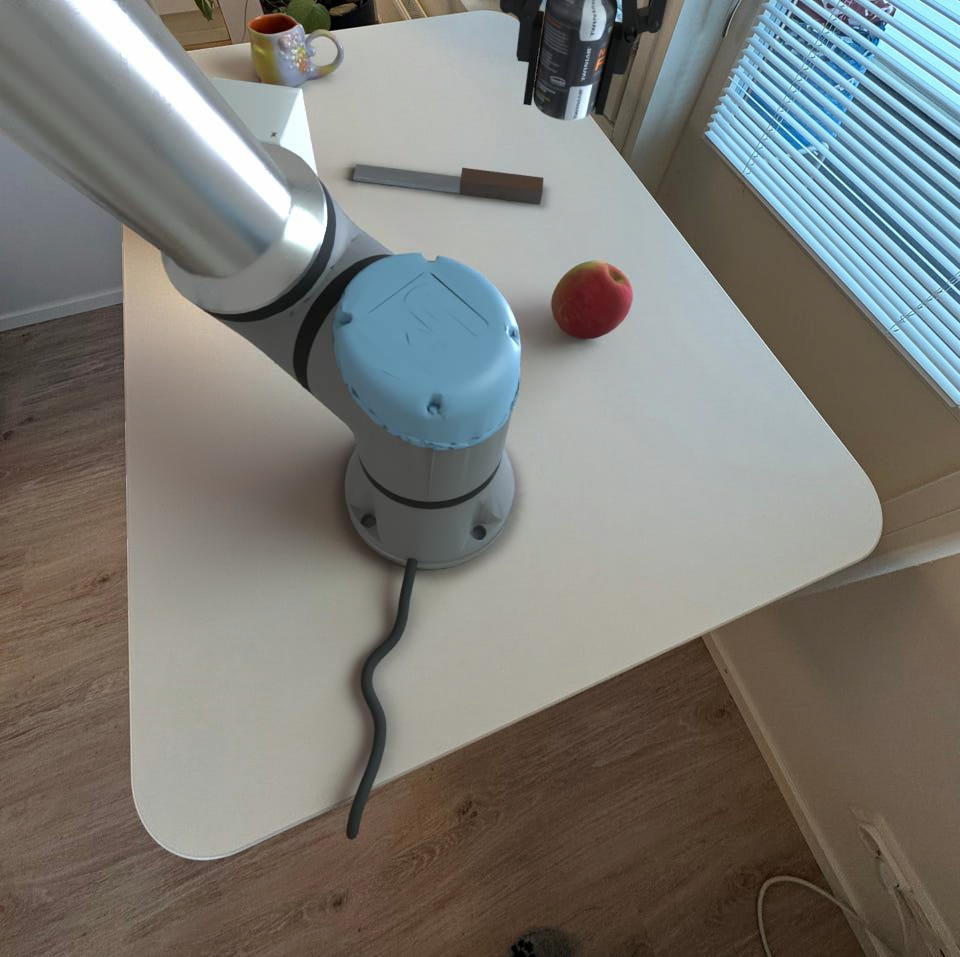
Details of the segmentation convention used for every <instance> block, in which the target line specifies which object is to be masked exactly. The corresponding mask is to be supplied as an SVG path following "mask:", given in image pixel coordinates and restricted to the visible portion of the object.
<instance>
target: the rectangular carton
mask: <svg viewBox="0 0 960 957" xmlns="http://www.w3.org/2000/svg"><path fill="white" fill-rule="evenodd" d="M209 81H210V82H211V83H212V84H213V85H214V87H215V88H216V89H217V90H218V92H219V93H220V94H221V95H222V97H223V98H224V99H225V100H226V102H227V103H228V104H229V105H230V106H231V108H232V109H233V110H234V111H235V113H236V114H237V115H238V116H239V118H240V119H241V120H242V121H243V123H244V124H245V125H246V126H247V127H248V129H249V130H250V131H251V132H252V134H253V135H254V136H255V137H256V139H257V140H258V141H259V142H261V143H270V144H275V145H278V146H281V147H284V148H286V149H288V150H290V151H292V152H294V153H295V154H297V155H299V156H300V157H301V158H302V159H303V160H304V161H305V162H306V163H307V164H308V165H309V166H310V167H311V168H312V170H313V171H314V172H315V174H316V175H317V176H318V170H317V166H316V161H315V155H314V150H313V144H312V140H311V133H310V127H309V121H308V117H307V116H308V115H307V110H306V106H305V101H304V94H303V89H302V88H301V87H296V86H295V87H287V86H279V85H270V84H262V83H261V82H253V81H244V80H237V79H230V78H223V77H215V76H212V77H211V79H210V80H209Z"/></svg>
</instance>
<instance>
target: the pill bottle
mask: <svg viewBox="0 0 960 957" xmlns="http://www.w3.org/2000/svg"><path fill="white" fill-rule="evenodd" d="M618 7H619V6H618V0H545V7H544V18H543V26H542V33H541V40H540V47H539V54H538V61H537V69H536V76H535V83H534V90H533V97H532V100H533V103H534V105H535V107H536V108H537V109H538V110H539V111H540V112H541V113H542V114H544V115H545V116H547V117H549V118H552V119H554V120H558V121H562V122H563V121H564V122H572V121H579V120H581V119H582V120H583V119H584V118H587V117H588V116H590V115H591V114H592V113H593V112H594V111H595V106H596V102H597V97H598V93H599V89H600V85H601V80H602V75H603V72H604V67H605V63H606V58H607V54H608V50H609V45H610V40H611V36H612V32H613V28H614V24H615V21H616V18H617V14H618Z"/></svg>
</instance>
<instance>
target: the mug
mask: <svg viewBox="0 0 960 957" xmlns="http://www.w3.org/2000/svg"><path fill="white" fill-rule="evenodd" d="M246 29H247V33H248V34H249V39H250V57H251V62H252V66H253V68H254V71H255V73H256V75H257V77H258V78H259V79H260V80H261V82H260V83H262V84H270V85H279V86H287V87H295V88H296V87H298V86H300V85H302V84H303V83H304V82H306V81H307V80H311V79H315V78H320V77H325V76H328V75H330V74H331V73H333V72H335V71H336V70H337V69H339V67H340V66H341V65H342V64H343V61H344V58H345V51H344V46H343V42H342V41H340V39H339V38H338V37H337V36H336V34H334V32H331V31H329V30H327V29H323V28H322V29H321V28H319V29H316V30H314V31H312V32H311V33H310V34H308V36H306V32H305V29H304V27H303V25H302V24H301V23H299V22H297V20H296V19H295V18H293V17H292V16H291V15H288V14H285V13H282V12H275V13H269V14H261V15H258V16H256V17H253V18H252V19H250V20H249V21H248V22H247V23H246ZM320 37H323V38H327V39H329V40H331V41H332V42H333V44H334V45H335V47H336V49H337V50H336V51H337V52H336V56H335V58H334V59H333V61H332V62H330V63H328V64H325V65H324V64H323V65H316V64H314V63H313V61H312V60H311V57H315V56H316V55H317V49H316V48H315V46H313V45H311V43H312V42H313V40H315V39H316V38H320Z"/></svg>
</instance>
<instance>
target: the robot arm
mask: <svg viewBox="0 0 960 957" xmlns="http://www.w3.org/2000/svg"><path fill="white" fill-rule="evenodd" d="M543 1H544V0H499V8H500V11H501V12H502V13H504V14H511V15H514V16H515V17H516V18H517V19H518V22H519V23H518V24H519V28H518V36H517V45H516V54H515V56H516V60H517V62H521V63H527V64H528V65H527V72H526V80H525V87H524V97H523V104H522V105H523V106H524V105H526V106H532V104H533V93H534V83H535V77H536V69H537V63H538V56H539V49H540V42H541V36H542V28H543V21H544V14H545V10H544V11H543V10H540V8H541V6H542V4H543ZM668 1H669V0H648V1H647V5H646V6H643V7H639V1H638V0H621V20H622V21H616V20H615V24H614V28H613V32H612V36H611V40H610V45H609V50H608V54H607V58H606V63H605V67H604V72H603V75H602V80H601V85H600V89H599V93H598V97H597V102H596V106H595V109H594V115H597V116H598V115H599V116H604V113H605V108H606V104H607V101H608V96H609V92H610V88H611V84H612V79H613V76H614V75H619V76H624V75H625V73H626V71H627V70H628V66H629V62H630V59H631V56H632V52H633V48H634V44H635V42H636V41H637V40H638V36H639V35H641V34H642V33H647V32H648V33H649V34H656V33H658V32H659V31H660V30H661V29H662V26H663V21H664V17H665V13H666V8H667V4H668ZM210 81H211V80H210V79H209V78H208V76H207V75H206V74H205V73H204V72H203V71H202V69H201V68H200V66H199V65H198V64H197V63H196V62H195V61H194V60H193V58H192V57H191V55H189V53H188V52H187V51H186V50H185V48H184V47H183V46H182V44H180V42H179V41H178V39H177V38H176V37H175V36H174V34H172V31H170V30H169V29H168V27H167V26H166V25H165V23H163V21H162V20H161V18H159V16H158V14H156V12H155V11H154V10H153V9H152V8H151V7H150V5H149V4H148V3H147V1H146V0H0V136H2V137H3V138H4V139H6V140H7V141H9V142H10V143H11V144H13V145H14V146H16V147H17V149H20V150H21V151H22V152H24V154H26V155H28V156H29V157H30V158H32V159H33V160H34V161H36V162H38V163H39V164H40V165H42V166H43V167H44V168H46V169H47V170H48V171H50V172H51V173H53V174H54V175H56V177H58V178H59V179H61V180H62V181H64V182H65V183H67V184H68V185H69V186H71V187H72V188H73V189H75V191H77V192H79V193H81V194H82V195H83V196H84V197H85V198H87V199H88V200H90V201H91V202H93V204H95V205H96V206H98V207H100V208H101V209H102V210H103V211H105V212H106V213H108V214H109V215H110V216H112V217H113V218H114V219H116V221H118V222H120V223H121V224H123V225H124V226H125V227H127V228H128V229H130V230H131V231H132V232H134V233H135V234H137V235H138V236H139V237H140V238H142V239H144V240H145V241H146V242H148V243H149V244H150V245H152V246H153V247H155V248H156V249H158V251H160V256H161V257H160V258H161V262H162V265H163V269H164V272H165V273H166V275H167V278H168V280H169V282H170V283H171V285H172V286H173V287H174V289H175V290H176V291H177V292H178V293H179V294H180V295H181V296H182V297H183V298H185V299H186V300H187V301H189V302H190V303H192V305H194V306H195V307H197V308H199V309H200V310H201V311H203V312H205V313H206V314H208V315H209V316H210V317H212V318H214V319H215V320H217V321H218V322H220V323H221V324H223V325H224V326H226V327H227V328H228V329H230V330H232V331H233V332H234V333H236V334H238V335H240V336H241V337H242V338H243V339H245V340H246V341H248V342H249V343H251V344H252V345H253V346H254V347H256V348H257V349H258V350H259V351H261V352H262V353H263V354H264V355H265V356H266V357H268V358H269V359H270V360H271V361H272V362H273V363H275V364H276V365H277V366H278V367H279V368H280V369H282V370H283V371H284V372H285V373H286V374H288V375H289V376H290V377H291V378H292V379H294V380H295V381H296V382H297V383H298V384H299V385H300V386H301V387H302V388H303V389H305V390H306V391H307V392H308V393H309V394H311V396H313V397H314V398H315V399H316V400H317V401H318V402H320V403H321V404H322V405H323V406H324V407H325V408H327V410H329V411H330V412H331V413H332V414H333V415H334V416H336V418H338V419H339V420H340V421H342V422H343V424H345V425H346V426H347V427H348V428H349V430H350V431H351V432H352V434H353V437H354V441H355V448H354V450H353V452H352V454H351V456H350V458H349V461H348V464H347V467H346V472H345V477H344V478H345V479H344V497H345V498H344V499H345V504H346V507H347V511H348V514H349V518H350V520H351V523H352V525H353V527H354V529H355V531H356V533H357V534H358V535H359V536H360V538H361V539H362V541H364V542H365V543H366V545H367V546H368V547H369V548H370V549H372V550H373V551H374V552H376V553H377V554H378V555H380V556H381V557H383V558H384V559H386V560H388V561H390V562H393V563H394V564H398V565H401V566H403V567H405V569H404V573H403V578H402V582H401V587H400V592H399V597H398V603H397V604H398V605H397V611H396V617H395V621H394V625H393V627H392V630H391V631H390V633H389V635H388V636H387V637H386V639H385V640H384V641H383V642H382V643H381V644H380V645H379V646H378V647H377V648H375V649H374V650H373V651H372V653H370V655H369V656H368V657H367V659H366V660H365V662H364V665H363V666H362V670H361V673H360V689H361V693H362V695H363V698H364V702H365V703H366V705H367V707H368V709H369V712H370V714H371V716H372V721H373V727H374V728H373V729H374V730H373V740H372V746H371V751H370V754H369V758H368V761H367V764H366V767H365V769H364V771H363V774H362V777H361V780H360V782H359V784H358V787H357V789H356V792H355V795H354V797H353V800H352V803H351V807H350V810H349V813H348V818H347V823H346V829H345V833H346V834H345V835H346V837H347V839H348V840H351V841H352V840H354V839H357V836H358V835H359V833H360V827H361V822H362V818H363V813H364V810H365V806H366V804H367V801H368V798H369V796H370V793H371V791H372V788H373V785H374V783H375V780H376V778H377V775H378V772H379V770H380V766H381V764H382V760H383V756H384V753H385V748H386V740H387V730H388V729H387V719H386V718H387V717H386V715H385V711H384V709H383V706H382V704H381V702H380V700H379V698H378V696H377V694H376V691H375V689H374V688H375V687H374V684H373V677H374V672H375V670H376V668H377V666H378V664H380V662H381V661H382V660H383V659H384V658H385V657H386V656H387V655H388V654H389V653H390V652H391V651H392V650H393V649H394V648H395V647H396V646H397V644H398V643H399V642H400V640H401V638H402V637H403V634H404V632H405V629H406V626H407V622H408V617H409V611H410V604H411V598H412V593H413V588H414V583H415V577H416V575H417V574H416V573H417V569H419V570H441V569H447V568H452V567H456V566H459V565H461V564H464V563H466V562H470V561H471V560H473V559H475V558H477V557H478V556H479V555H481V554H482V553H484V552H485V551H486V550H487V549H489V548H490V547H491V546H492V545H494V543H495V542H496V540H497V539H498V538H499V537H500V536H501V534H502V533H503V531H504V529H505V527H506V525H507V523H508V521H509V518H510V515H511V512H512V509H513V504H514V500H515V491H516V490H515V487H516V486H515V476H514V471H513V466H512V462H511V460H510V458H509V455H508V453H507V450H506V449H505V445H506V440H507V436H508V432H509V428H510V424H511V418H512V413H513V409H514V407H515V405H516V402H517V399H518V397H519V393H520V384H521V357H522V356H521V355H522V344H521V336H520V330H519V325H518V324H517V320H516V317H515V315H514V313H513V310H512V308H511V306H510V305H509V303H508V302H507V300H506V298H505V297H504V296H503V295H502V293H501V292H500V291H499V289H497V288H496V286H495V285H494V284H493V283H492V282H491V281H490V280H489V279H487V278H486V276H484V275H482V274H481V273H480V272H478V271H477V270H475V269H473V268H472V267H470V266H469V265H467V264H464V263H462V262H460V261H458V260H455V259H453V258H449V257H447V256H443V255H437V256H436V257H435V260H426V258H425V257H424V254H423V253H422V252H406V253H398V254H395V253H394V252H393V251H391V250H390V249H389V248H388V247H386V246H385V245H384V244H383V243H381V242H379V241H378V240H377V239H375V238H374V237H373V236H371V235H370V234H368V233H367V232H366V231H364V229H362V228H361V227H360V226H359V225H357V224H356V222H354V221H353V220H352V219H351V218H350V217H349V216H348V214H347V213H346V212H345V211H344V209H343V208H342V207H341V206H340V204H339V203H338V202H337V200H336V199H335V198H334V196H333V195H332V193H331V192H330V191H329V189H327V187H326V185H325V184H324V183H323V181H321V179H320V177H318V174H317V175H316V174H315V172H314V171H313V170H312V168H311V167H310V166H309V165H308V164H307V163H306V162H305V161H304V160H303V159H302V158H301V157H300V156H299V155H297V154H295V153H294V152H292V151H290V150H288V149H286V148H284V147H281V146H278V145H275V144H270V143H261V142H259V141H258V140H257V139H256V137H255V136H254V135H253V134H252V132H251V131H250V130H249V129H248V127H247V126H246V125H245V124H244V123H243V121H242V120H241V119H240V118H239V116H238V115H237V114H236V113H235V111H234V110H233V109H232V108H231V106H230V105H229V104H228V103H227V102H226V100H225V99H224V98H223V97H222V95H221V94H220V93H219V92H218V90H217V89H216V88H215V87H214V85H213V84H212V83H211V82H210Z"/></svg>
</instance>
